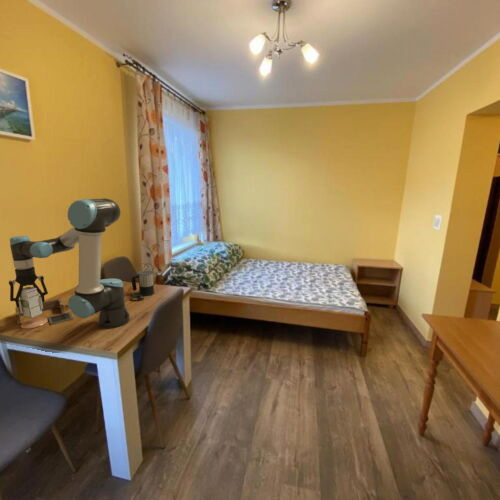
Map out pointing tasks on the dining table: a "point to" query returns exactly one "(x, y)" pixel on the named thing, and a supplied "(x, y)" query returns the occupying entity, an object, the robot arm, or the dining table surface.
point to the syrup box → (30, 302)
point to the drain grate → (60, 318)
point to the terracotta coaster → (34, 323)
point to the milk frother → (143, 284)
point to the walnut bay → (46, 306)
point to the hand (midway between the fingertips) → (32, 310)
